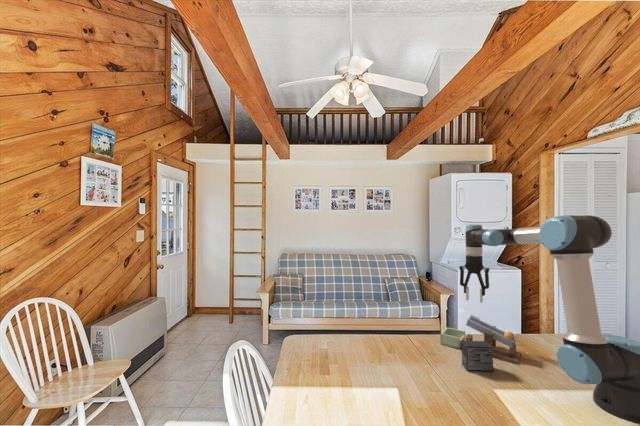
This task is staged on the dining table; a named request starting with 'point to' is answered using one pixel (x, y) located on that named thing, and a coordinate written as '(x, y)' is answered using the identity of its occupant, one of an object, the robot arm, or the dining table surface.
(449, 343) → the dish
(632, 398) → the robot arm
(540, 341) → the dining table surface
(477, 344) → the small box
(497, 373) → the dining table surface
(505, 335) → the ball
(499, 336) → the lever
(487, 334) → the stand
